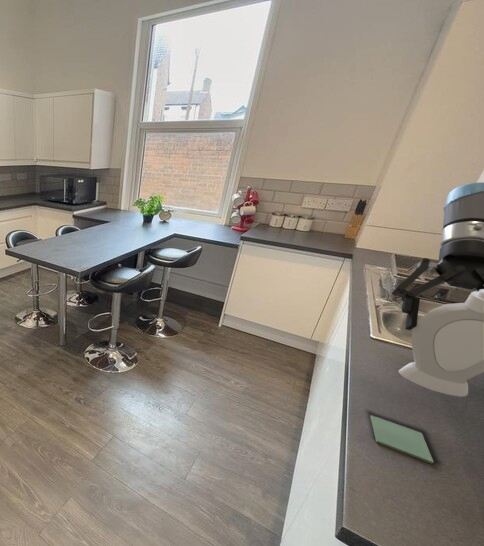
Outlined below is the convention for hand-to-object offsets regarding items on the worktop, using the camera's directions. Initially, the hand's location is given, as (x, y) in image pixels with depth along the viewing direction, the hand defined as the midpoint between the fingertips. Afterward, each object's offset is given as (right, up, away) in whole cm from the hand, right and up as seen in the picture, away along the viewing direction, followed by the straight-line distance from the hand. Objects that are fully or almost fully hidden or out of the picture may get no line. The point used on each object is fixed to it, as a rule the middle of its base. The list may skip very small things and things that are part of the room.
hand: (458, 339), depth 61 cm
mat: (-1, -25, +11) cm, 27 cm away
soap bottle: (+1, -10, +6) cm, 12 cm away
